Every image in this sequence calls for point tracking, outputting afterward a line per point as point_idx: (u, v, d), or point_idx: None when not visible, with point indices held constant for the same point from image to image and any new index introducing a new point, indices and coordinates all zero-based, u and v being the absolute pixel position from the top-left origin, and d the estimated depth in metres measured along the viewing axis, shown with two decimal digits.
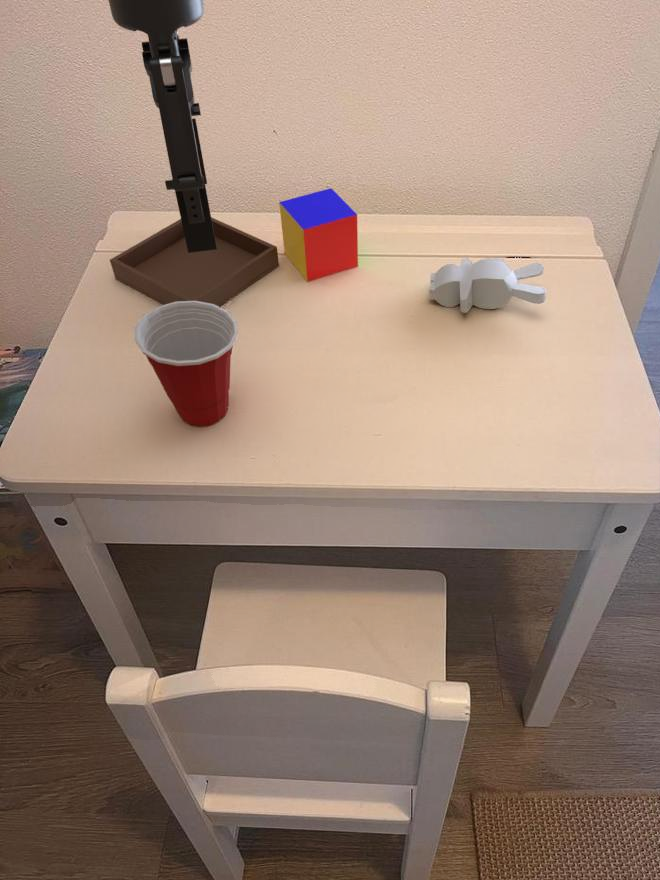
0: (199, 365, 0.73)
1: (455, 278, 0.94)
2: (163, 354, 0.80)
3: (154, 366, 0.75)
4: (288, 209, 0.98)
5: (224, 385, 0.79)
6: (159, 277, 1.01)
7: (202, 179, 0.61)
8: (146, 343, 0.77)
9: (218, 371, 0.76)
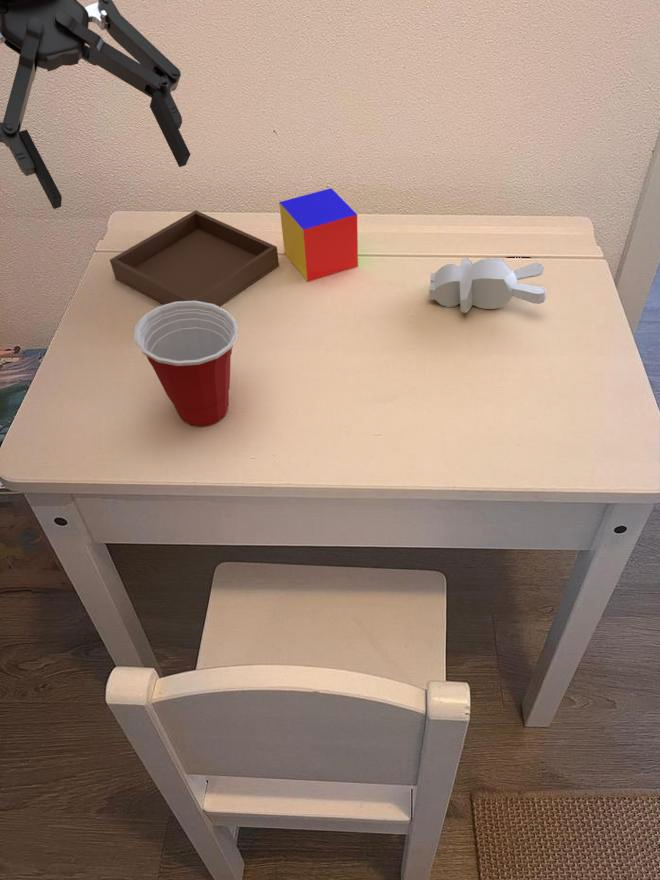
0: (199, 365, 0.73)
1: (455, 278, 0.94)
2: (163, 354, 0.80)
3: (154, 366, 0.75)
4: (288, 209, 0.98)
5: (224, 385, 0.79)
6: (159, 277, 1.01)
7: None
8: (146, 343, 0.77)
9: (218, 371, 0.76)
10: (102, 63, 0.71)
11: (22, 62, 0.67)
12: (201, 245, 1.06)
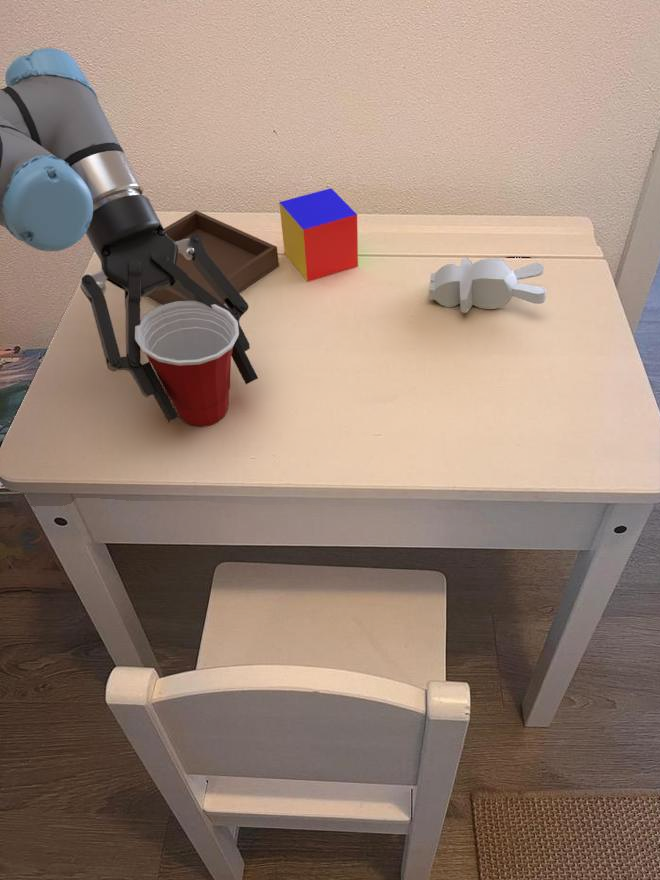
0: (200, 365, 0.73)
1: (455, 278, 0.94)
2: (163, 354, 0.80)
3: (155, 365, 0.75)
4: (288, 209, 0.98)
5: (224, 385, 0.79)
6: None
7: None
8: (147, 342, 0.77)
9: (218, 371, 0.76)
10: (183, 292, 0.79)
11: (131, 301, 0.75)
12: None
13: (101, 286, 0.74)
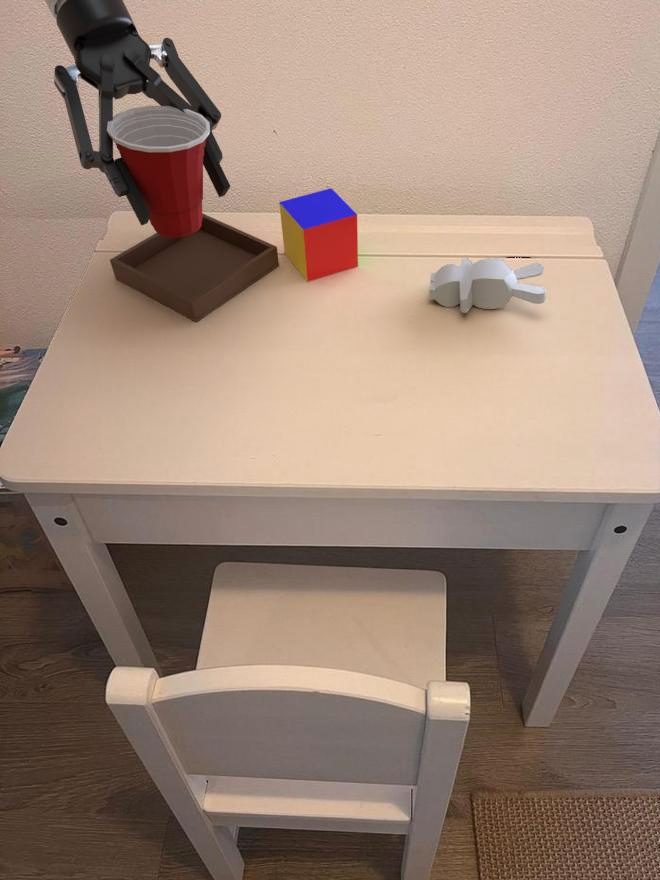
0: (170, 154, 0.75)
1: (455, 278, 0.94)
2: None
3: (126, 159, 0.76)
4: (288, 209, 0.98)
5: (197, 190, 0.81)
6: (159, 277, 1.01)
7: None
8: None
9: (190, 169, 0.78)
10: (157, 98, 0.80)
11: (104, 95, 0.76)
12: (201, 245, 1.06)
13: (74, 78, 0.75)
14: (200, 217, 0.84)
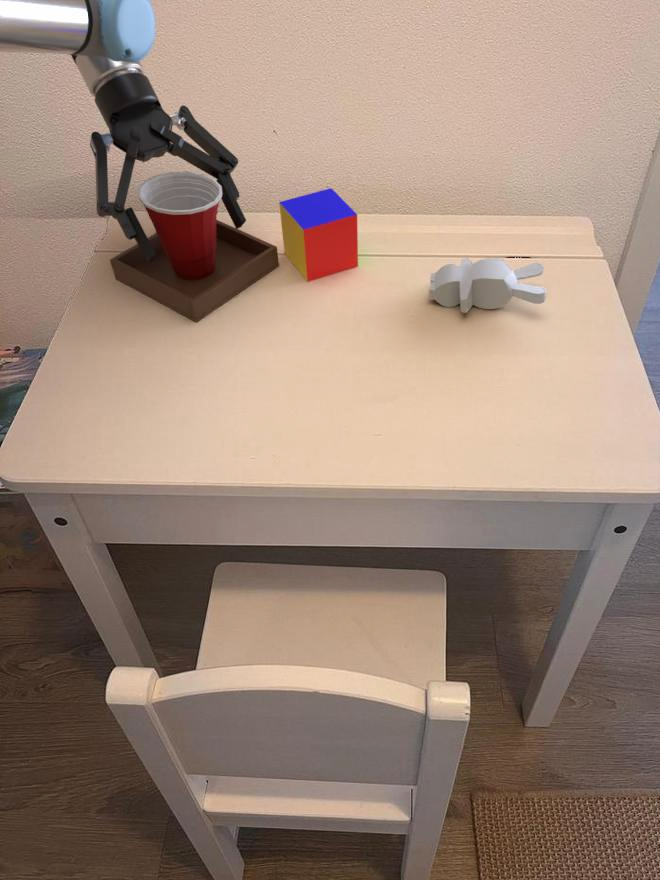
0: (190, 215, 0.91)
1: (455, 278, 0.94)
2: None
3: (154, 219, 0.92)
4: (288, 209, 0.98)
5: (211, 241, 0.97)
6: (159, 277, 1.01)
7: None
8: (147, 203, 0.94)
9: (206, 225, 0.94)
10: (181, 155, 0.96)
11: (127, 158, 0.92)
12: None
13: (106, 144, 0.91)
14: (214, 262, 1.00)
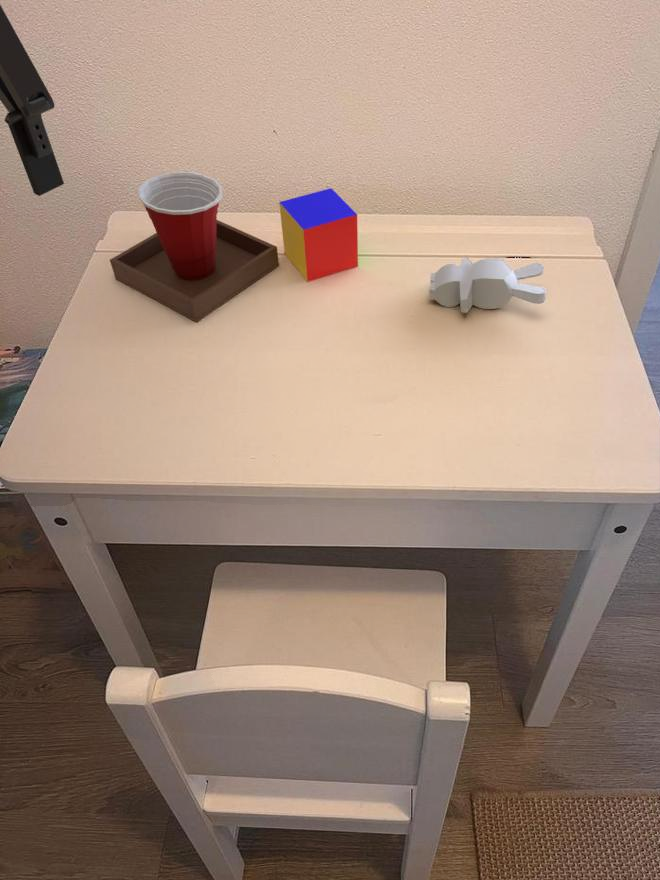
0: (190, 215, 0.91)
1: (455, 278, 0.94)
2: None
3: (154, 219, 0.92)
4: (288, 209, 0.98)
5: (211, 241, 0.97)
6: (159, 277, 1.01)
7: None
8: (147, 203, 0.94)
9: (206, 225, 0.94)
10: None
11: None
12: None
13: None
14: (214, 262, 1.00)
